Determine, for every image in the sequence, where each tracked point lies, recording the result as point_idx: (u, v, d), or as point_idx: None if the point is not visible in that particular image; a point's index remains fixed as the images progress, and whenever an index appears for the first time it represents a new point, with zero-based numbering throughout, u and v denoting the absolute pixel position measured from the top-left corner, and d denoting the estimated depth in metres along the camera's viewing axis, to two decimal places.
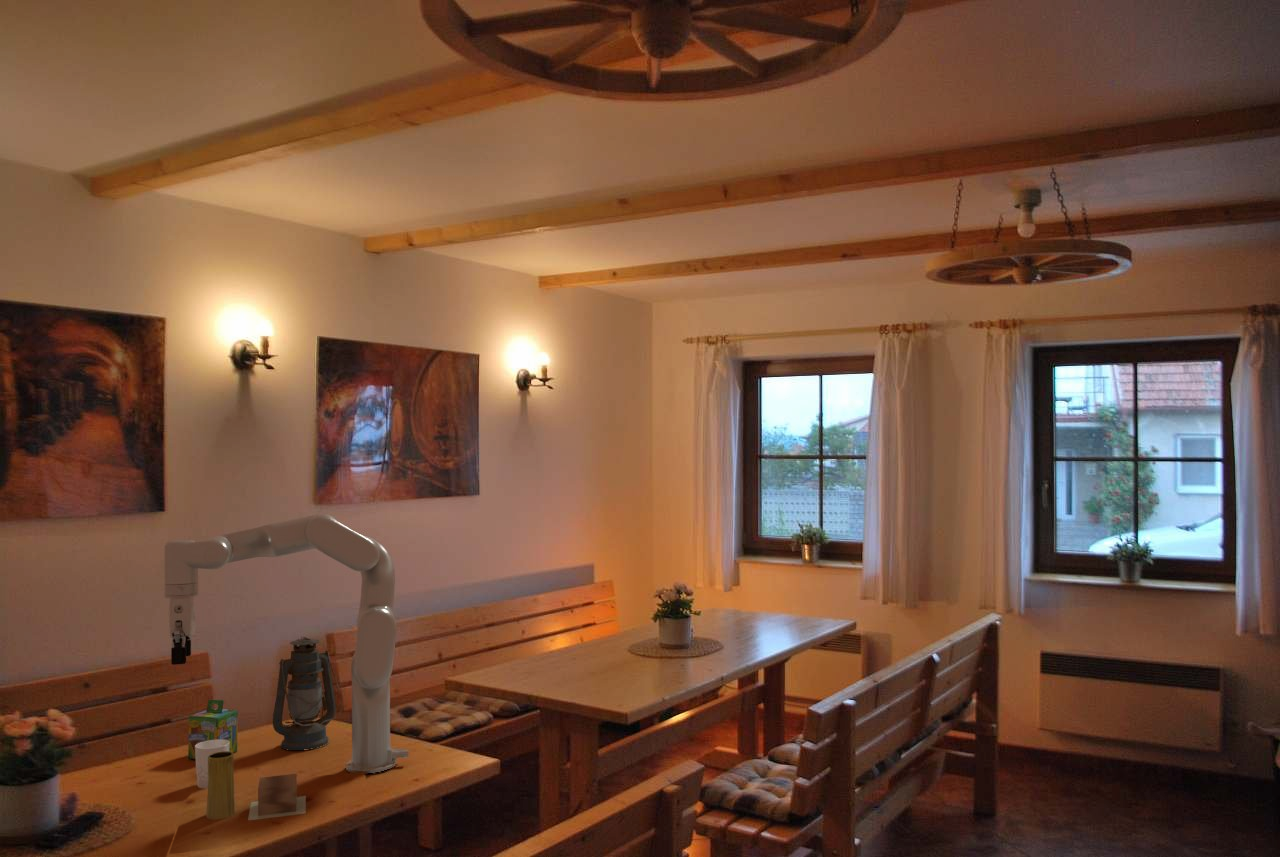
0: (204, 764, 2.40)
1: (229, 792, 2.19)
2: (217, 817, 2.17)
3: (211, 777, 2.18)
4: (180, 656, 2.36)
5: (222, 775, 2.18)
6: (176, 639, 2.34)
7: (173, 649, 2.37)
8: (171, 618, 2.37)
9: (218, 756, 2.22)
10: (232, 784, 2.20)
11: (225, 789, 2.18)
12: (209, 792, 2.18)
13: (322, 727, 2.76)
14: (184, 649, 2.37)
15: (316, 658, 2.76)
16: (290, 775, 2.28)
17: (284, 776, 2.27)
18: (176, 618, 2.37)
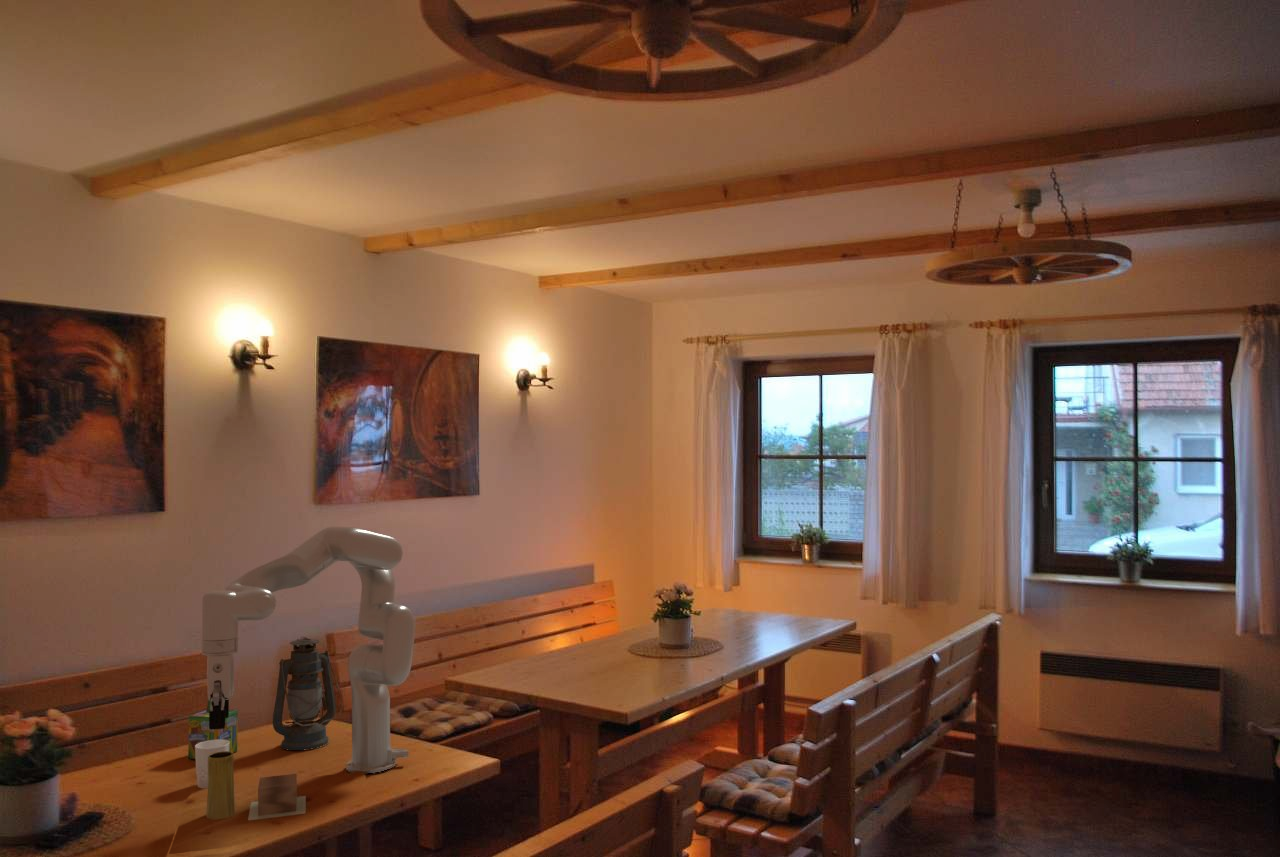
0: (204, 764, 2.40)
1: (229, 792, 2.19)
2: (217, 817, 2.17)
3: (211, 777, 2.18)
4: (219, 720, 2.15)
5: (222, 775, 2.18)
6: (215, 702, 2.13)
7: (211, 712, 2.15)
8: (209, 678, 2.16)
9: (218, 756, 2.22)
10: (232, 784, 2.20)
11: (225, 789, 2.18)
12: (209, 792, 2.18)
13: (322, 727, 2.76)
14: (223, 712, 2.16)
15: (316, 658, 2.76)
16: (290, 775, 2.28)
17: (284, 776, 2.27)
18: (215, 678, 2.16)
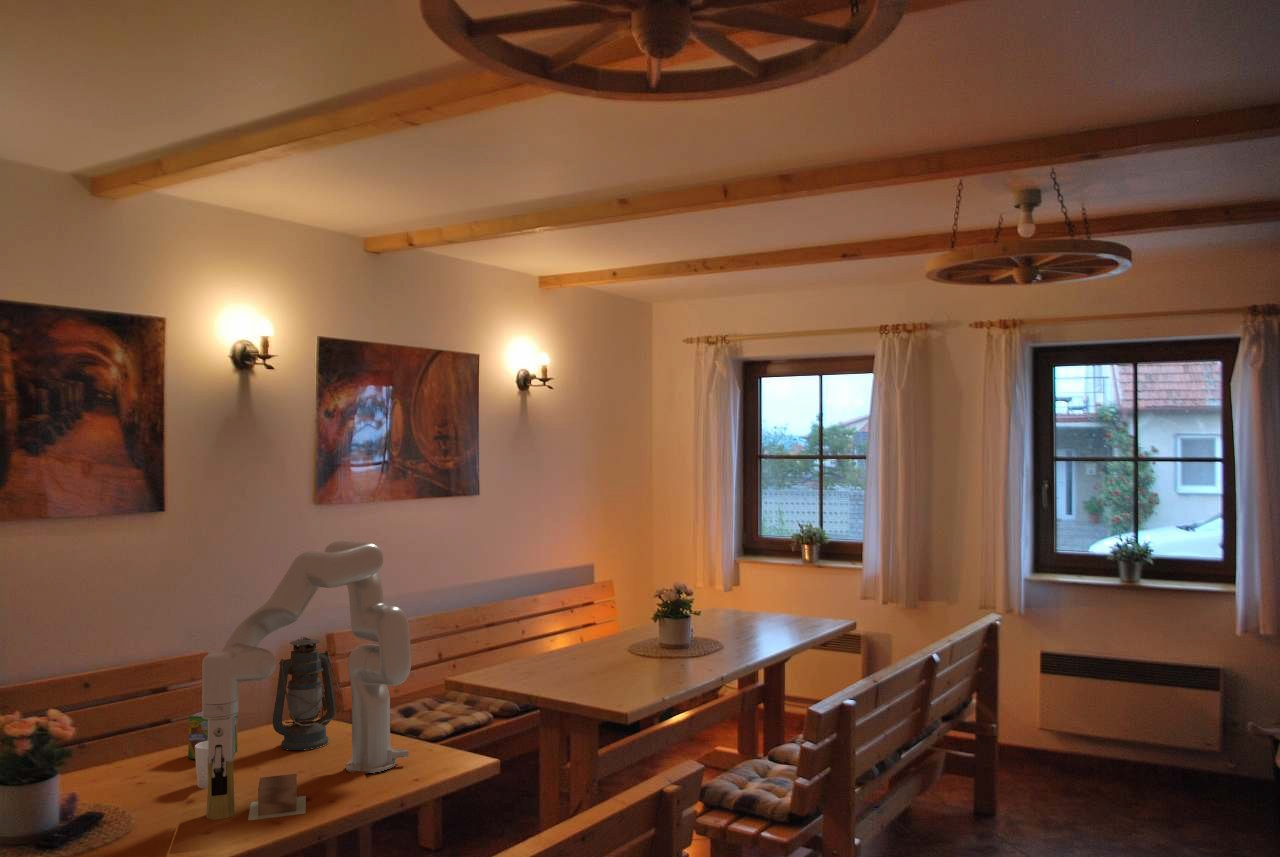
0: (204, 764, 2.40)
1: (229, 792, 2.19)
2: (217, 817, 2.17)
3: (211, 777, 2.18)
4: (221, 787, 2.16)
5: None
6: (217, 771, 2.14)
7: (213, 779, 2.17)
8: (210, 742, 2.15)
9: None
10: (232, 784, 2.20)
11: None
12: (209, 792, 2.18)
13: (322, 727, 2.76)
14: (225, 778, 2.17)
15: (316, 658, 2.76)
16: (290, 775, 2.28)
17: (284, 776, 2.27)
18: (216, 742, 2.15)
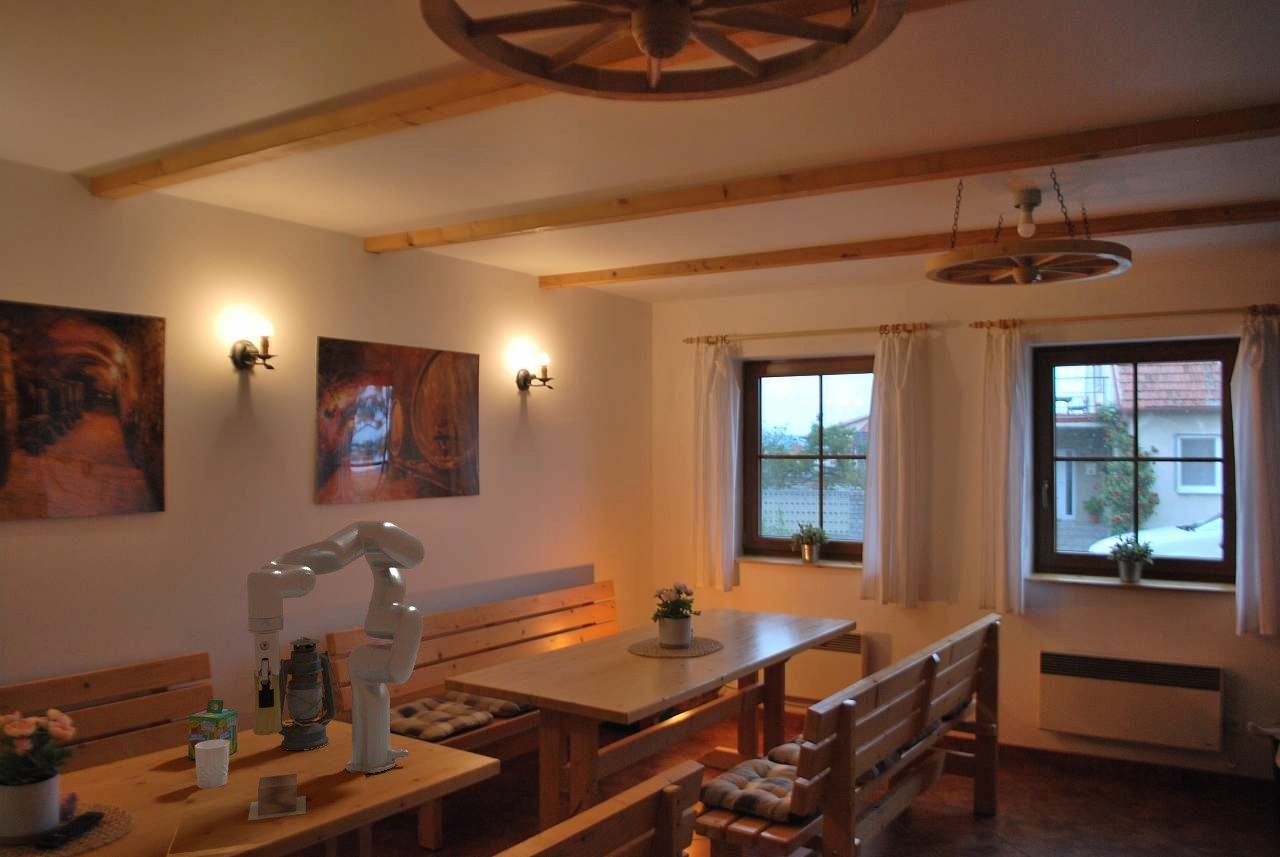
0: (204, 764, 2.40)
1: (275, 705, 2.23)
2: (264, 729, 2.21)
3: (258, 690, 2.22)
4: (268, 699, 2.20)
5: None
6: (264, 683, 2.18)
7: (260, 691, 2.20)
8: (257, 655, 2.19)
9: None
10: (278, 697, 2.24)
11: None
12: (256, 705, 2.22)
13: (322, 727, 2.76)
14: (272, 691, 2.21)
15: (316, 658, 2.76)
16: (290, 775, 2.28)
17: (284, 776, 2.27)
18: (262, 655, 2.19)
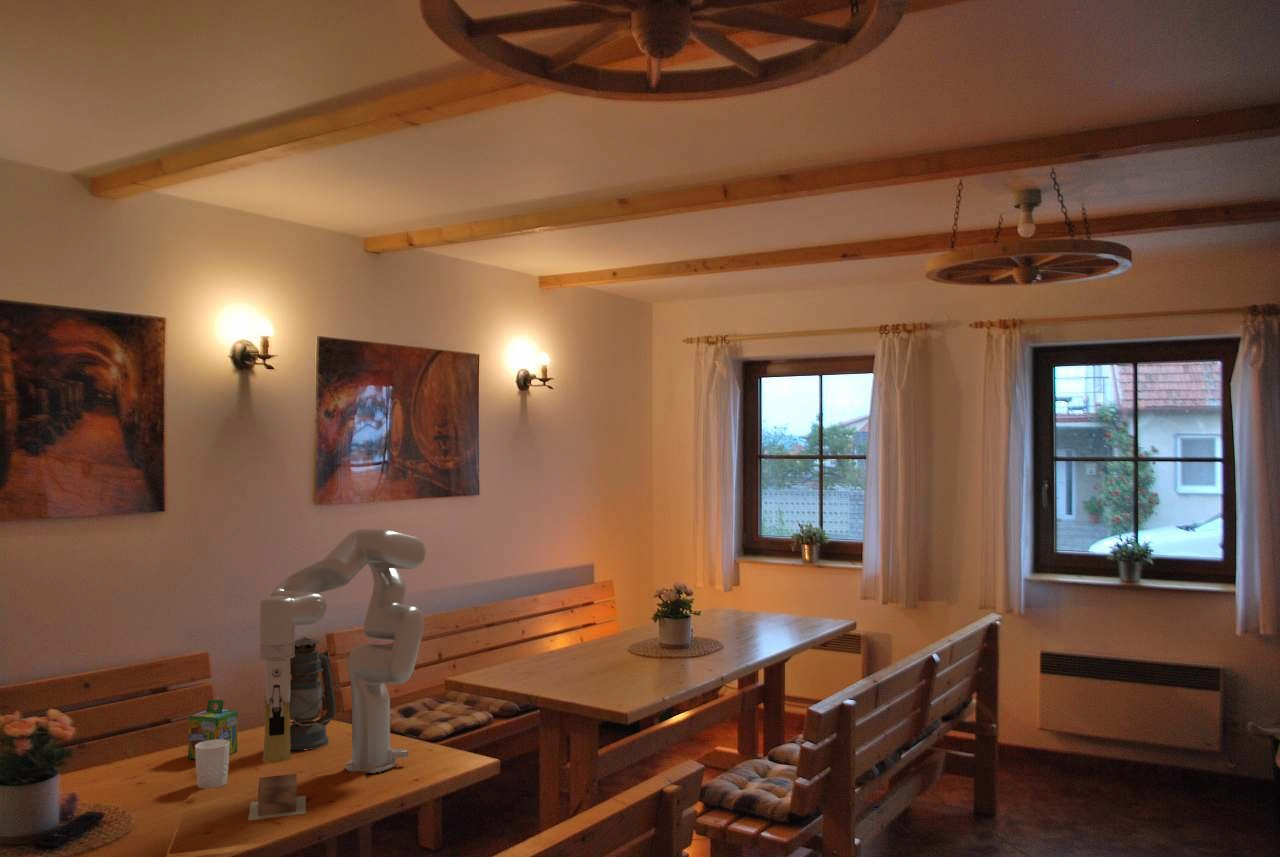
0: (204, 764, 2.40)
1: (285, 732, 2.23)
2: (274, 756, 2.21)
3: (268, 718, 2.22)
4: (279, 726, 2.20)
5: None
6: (275, 710, 2.18)
7: (271, 719, 2.21)
8: (268, 683, 2.19)
9: None
10: (288, 725, 2.24)
11: None
12: (266, 732, 2.22)
13: (322, 727, 2.76)
14: (282, 719, 2.21)
15: (316, 658, 2.76)
16: (290, 775, 2.28)
17: (284, 776, 2.27)
18: (274, 682, 2.20)
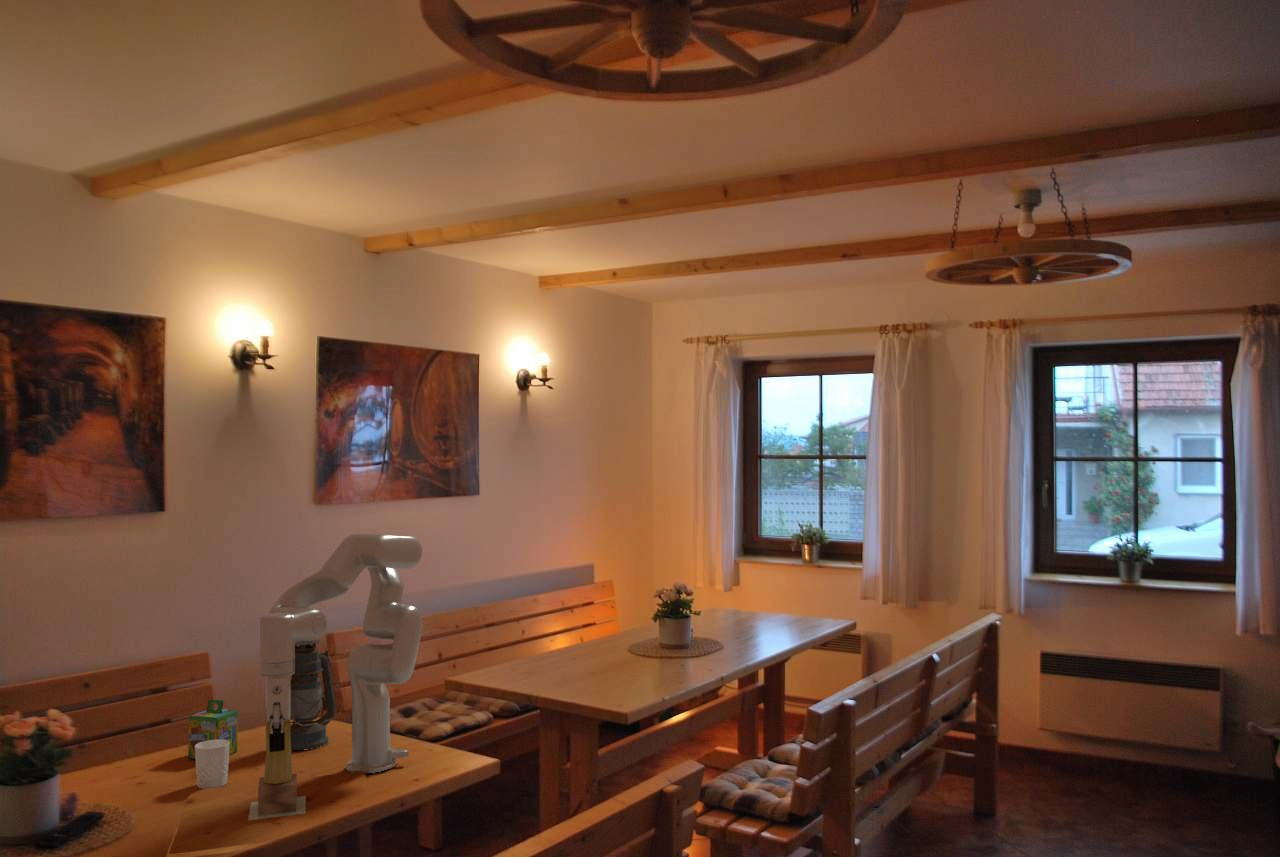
0: (204, 764, 2.40)
1: (286, 754, 2.23)
2: (275, 778, 2.22)
3: None
4: (279, 743, 2.20)
5: None
6: (275, 726, 2.17)
7: (271, 735, 2.20)
8: (269, 700, 2.19)
9: None
10: (289, 746, 2.25)
11: None
12: (267, 754, 2.22)
13: (322, 727, 2.76)
14: (283, 735, 2.21)
15: (316, 658, 2.76)
16: None
17: None
18: (274, 700, 2.20)
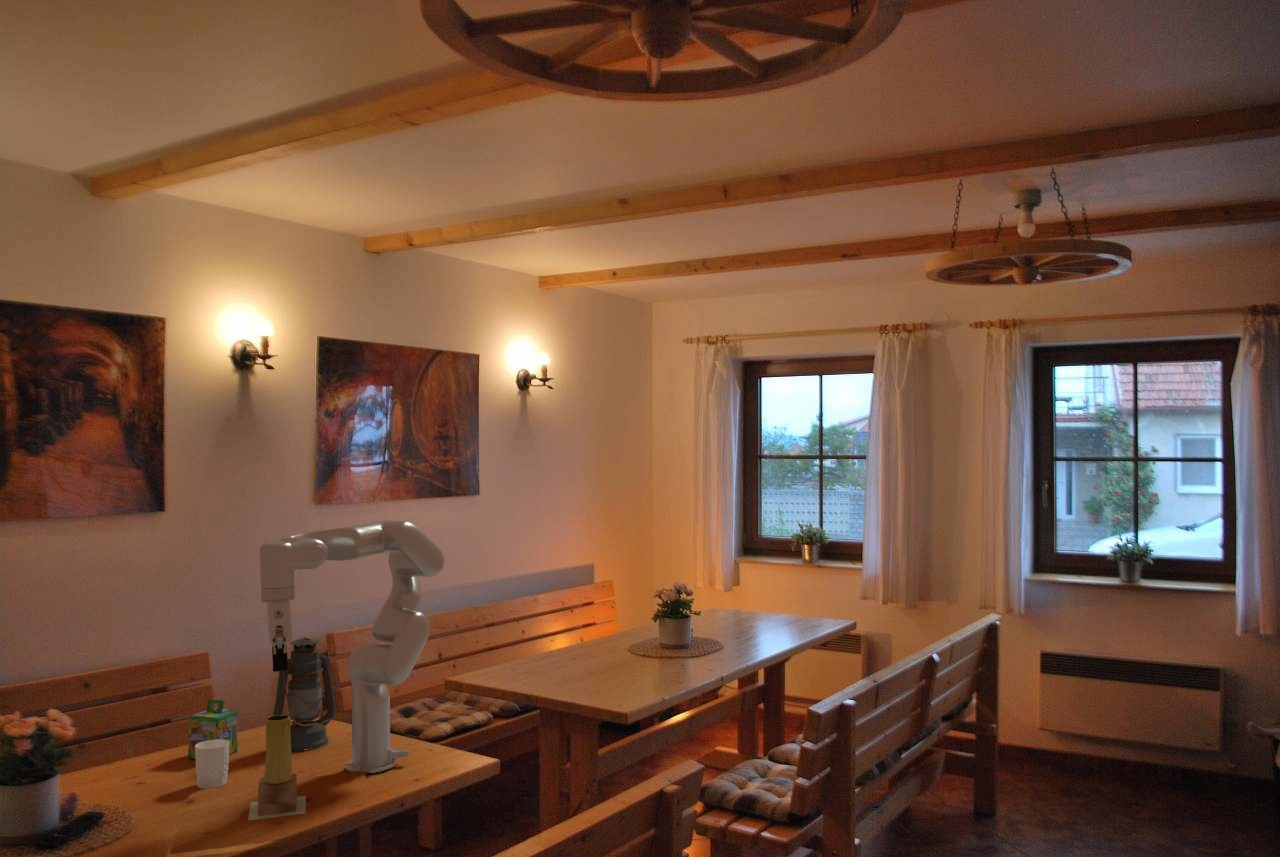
0: (204, 764, 2.40)
1: (286, 754, 2.23)
2: (275, 778, 2.22)
3: (269, 739, 2.22)
4: (282, 662, 2.28)
5: (280, 737, 2.22)
6: (279, 645, 2.25)
7: (274, 655, 2.28)
8: (271, 623, 2.28)
9: (275, 719, 2.27)
10: (289, 746, 2.25)
11: (283, 750, 2.23)
12: (267, 754, 2.22)
13: (322, 727, 2.76)
14: (285, 655, 2.29)
15: (316, 658, 2.76)
16: None
17: None
18: (276, 623, 2.28)
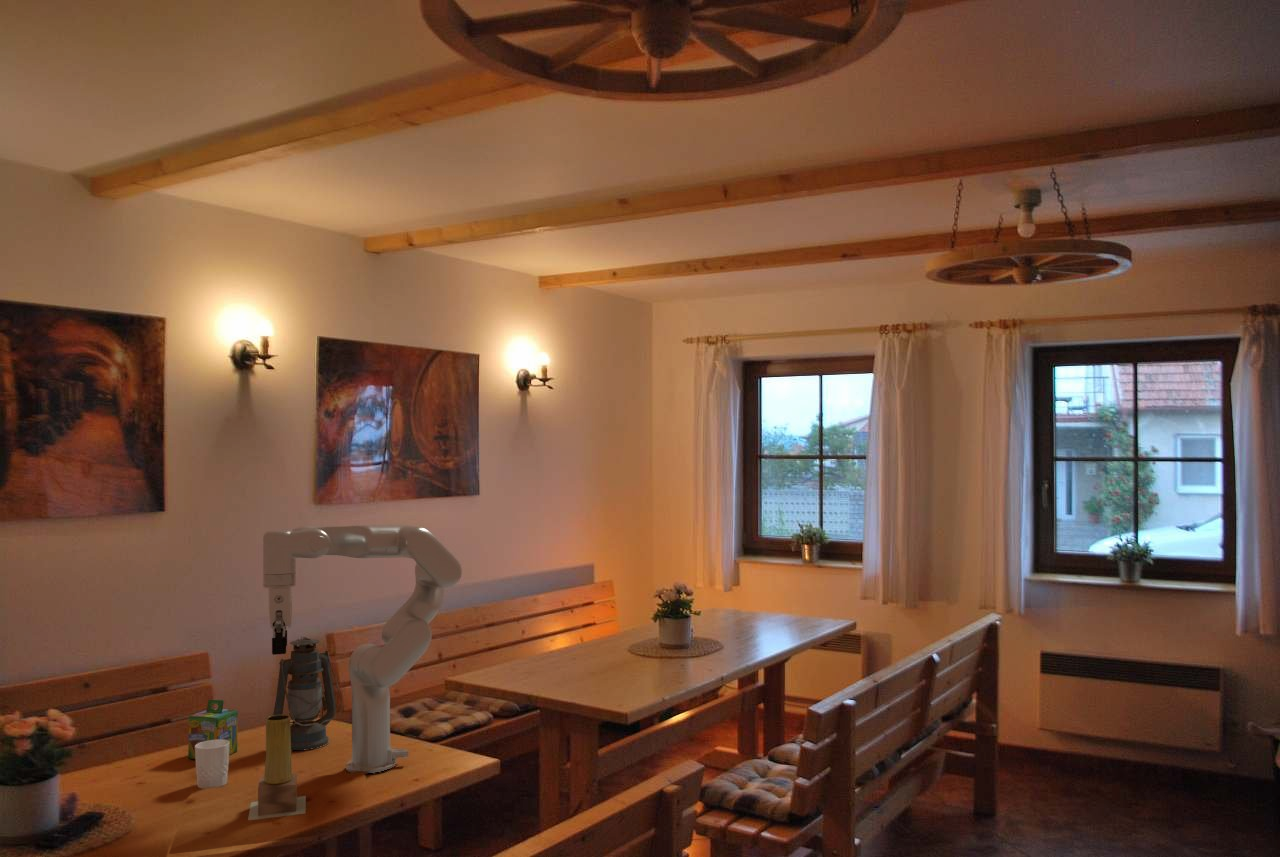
0: (204, 764, 2.40)
1: (286, 754, 2.23)
2: (275, 778, 2.22)
3: (269, 739, 2.22)
4: (281, 646, 2.36)
5: (280, 737, 2.22)
6: (278, 629, 2.34)
7: (274, 639, 2.37)
8: (271, 608, 2.37)
9: (275, 719, 2.27)
10: (289, 746, 2.25)
11: (283, 750, 2.23)
12: (267, 754, 2.22)
13: (322, 727, 2.76)
14: (284, 639, 2.37)
15: (316, 658, 2.76)
16: None
17: None
18: (276, 608, 2.37)
